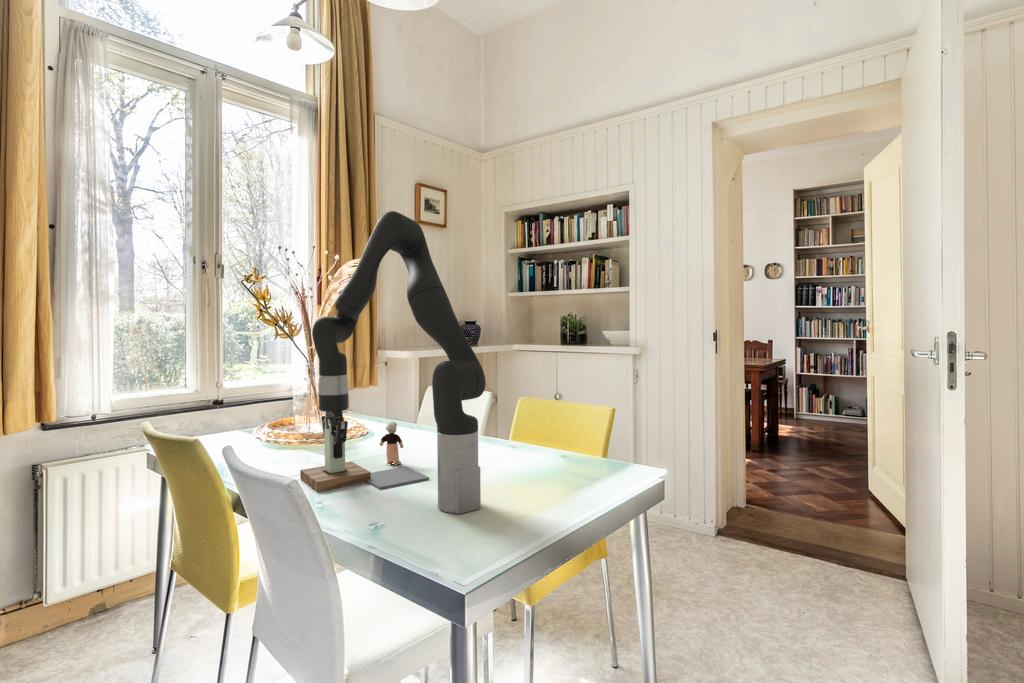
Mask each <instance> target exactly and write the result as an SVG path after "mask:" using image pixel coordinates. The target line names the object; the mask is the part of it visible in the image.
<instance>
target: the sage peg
mask: <svg viewBox="0 0 1024 683" xmlns="http://www.w3.org/2000/svg"><path fill="white" fill-rule="evenodd" d="M334 432H336V430H335V431H334ZM324 437H325V438H324ZM323 438H324V466H325V470H326V471H328V472H329V473H334V472H340V471H345V462H346V442H343V443H342V458H337V459H335V458H334V457H333V436H331V431H330V429H329V428H328V429H324V434H323ZM339 438H340V435H339Z"/></svg>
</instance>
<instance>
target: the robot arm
mask: <svg viewBox="0 0 1024 683" xmlns="http://www.w3.org/2000/svg"><path fill="white" fill-rule="evenodd" d="M390 250H391V251H393V252H395V253H397V254H399V255H400V257H401V258H402V260H403V262H404V265H405V267H406V269H407V272H408V282H407V287H406V298H407V301H408V304H409V307H410V309H411V311H412V315H413V318H414V319H415V321H416V323H417V324H418V325H419V327H420V328H421V329H422V330H423V331H424V332H425V333H426V334H427V335H428V336H430V338H431V339H433V340H434V341H435V342H436V343H437V345H439V346H440V347H441V349H443V351H444V353H445V354H446V356H447V358H448V360H444V361H441V362H439V363H437V365H436V366H435V368H434V370H433V373H432V381H431V382H432V383H431V385H432V388H431V389H432V400H433V401H432V402H433V416H434V420H435V423H436V431H437V432H436V435H437V438H436V440H437V441H436V443H437V444H436V445H437V447H436V448H437V454H436V455H437V456H436V457H437V459H436V460H437V508H438V509H439V511H442V512H445V513H452V514H455V515H460V514H465V513H469V512H471V511H472V512H473V511H476V510H479V509H481V508H482V507H481V500H482V499H481V498H482V497H481V495H482V494H481V466H480V465H479V421H478V418H477V417H475V416H474V415H470V414H467V413H465V411H464V410H463V401H467V400H468V401H469V400H474V399H478V398H480V397H481V396H482V395H483V394H484V392H485V389H486V385H487V384H486V382H487V381H486V376H485V372H484V369H483V366H482V365H481V363H480V360H479V359H478V357H477V355H476V354H475V351H474V350H473V348H472V346H471V345H470V343H469V341H468V339H467V337H466V335H465V334H464V331H463V329H462V326H461V324H460V323H459V321H458V318H457V316H456V313H455V312H454V309H453V306H452V304H451V302H450V299H449V297H448V294H447V291H446V290H445V287H444V285H443V283H442V281H441V278H440V275H439V274H438V271H437V269H436V267H435V265H434V262H433V259H432V257H431V256H432V255H431V254H430V253H431V252H430V251H429V247H428V242H427V240H426V237H425V233H424V231H423V229H422V227H421V225H420V224H419V223H418V222H416V220H414V219H412V218H410V217H408V216H406V215H404V214H402V213H400V212H398V211H394V210H393V211H392V210H390V211H387V212H385V213H384V214H383V215H382V216H381V217H380V218H379V219H378V221H377V222H376V223H375V225H374V228H373V230H372V232H371V234H370V236H369V238H368V241H367V243H366V245H365V247H364V250H363V252H362V254H361V257H360V259H359V261H358V263H357V265H356V268H355V270H354V272H353V273H352V275H351V276H350V277H349V279H348V281H347V283H346V284H345V286H344V287H343V288H342V290H341V292H340V293H339V295H338V296H337V298H336V300H335V302H334V307H335V309H336V310H337V313H336V314H335V315H334V316H321V317H319V318H317V319H316V320H315V322H314V323H313V326H312V334H311V335H312V340H313V344H314V347H315V348H314V349H315V351H316V355H317V358H318V375H319V376H318V385H317V386H318V387H317V388H318V410H319V411H320V412H324V413H325V415H322V416H321V419H320V420H321V425H322V433H323V435H324V429H328V428H329V429H330V431H331V436H333V457H334V458H335V459H337V458H342V443H343V442H345V443H346V441H347V434H348V426H349V425H348V424H349V423H348V422H349V421H348V420H345V418H344V414H343V412H344V411H346V410H348V409H349V407H350V404H349V402H350V399H349V397H350V396H349V380H348V360H347V355H346V354H345V353H343V352H340V351H339V347H338V344H340V343H341V344H342V343H344V342H346V341H347V340H348V339H349V338H350V337H351V336H352V335H353V333H354V331H355V329H356V326H357V323H358V321H359V317H360V315H361V313H362V312H363V311H364V309H365V308H366V306H367V305H368V303H369V302H370V300H371V298H372V297H373V295H374V293H375V290H376V286H377V279H378V271H379V269H380V268H379V267H380V264H381V262H382V260H383V259H384V257H385V256H386V255H387V253H388V252H389V251H390ZM335 430H336V432H334V431H335ZM339 435H340V438H339ZM323 438H324V439H325V437H324V436H323Z"/></svg>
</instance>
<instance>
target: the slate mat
mask: <svg viewBox="0 0 1024 683" xmlns="http://www.w3.org/2000/svg"><path fill="white" fill-rule="evenodd" d="M427 479H429V480H430V477H429V476H427V475H425V474H423V473H421V472H419V471H417V470H414V469H413V468H410V467H408V466H406V465H405V466H400V467H395V468H394V467H393V468H390V469H383V470H379V471H373V472H371V479H370V480H367V482H366V483H368V482H369V483H370V484H369V483H368V484H369V485H371V484H372V485H371V486H373V485H374V486H375V487H374V486H373V487H374V488H376V487H377V488H376V489H378V488H379V489H380V490H384V489H383V488H385V489H389V488H388V487H390V488H393V487H392V486H395V487H398V486H397V485H400V486H402V485H401V484H405V485H408V484H407V483H409V484H413V483H412V482H414V483H417V482H416V481H419V482H423V481H422V480H424V481H428V480H427ZM379 489H378V490H379Z"/></svg>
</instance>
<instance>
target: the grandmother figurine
mask: <svg viewBox="0 0 1024 683" xmlns="http://www.w3.org/2000/svg"><path fill="white" fill-rule="evenodd" d="M397 428H398V424H397V422H395V421H390V422H388V423H387V425H386V426H385V428H384V429H385V430H386V431H387V432H388V433H387V434H385V435H383V437H381V438H380V443H379V446H380V447H382V446H383V445H384V443H386V461H387V462H386V464H392V463H394V465H393V464H392V465H393V466H395V465H396V466H398V465H397V464H400V465H402V464H401V463H402V461H400V456H399V455H400V454H399V448H400V449H403V448H404V444H403V440H402V439H401V437H400V435H399V434H396V432H397Z"/></svg>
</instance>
